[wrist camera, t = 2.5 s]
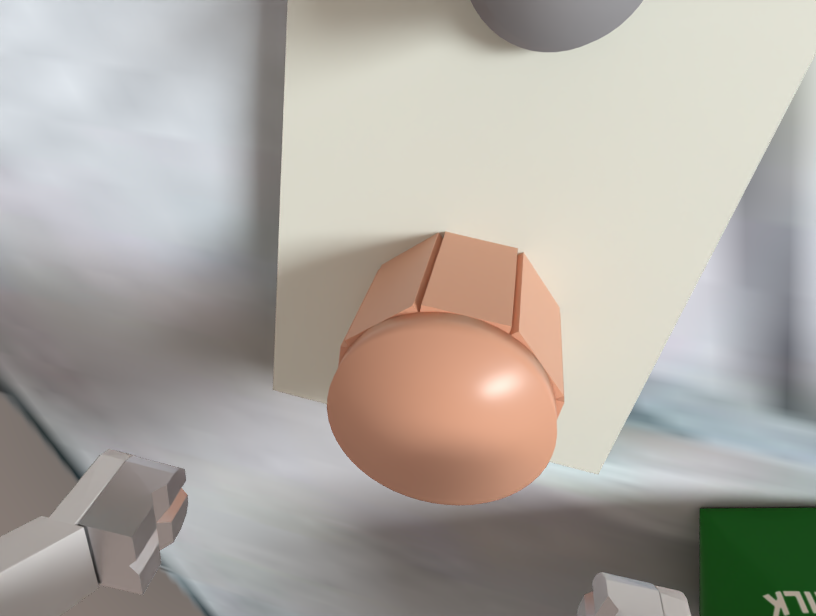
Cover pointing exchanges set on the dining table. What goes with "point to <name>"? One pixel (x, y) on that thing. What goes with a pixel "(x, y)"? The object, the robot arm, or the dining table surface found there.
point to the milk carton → (757, 562)
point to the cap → (451, 374)
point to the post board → (526, 165)
